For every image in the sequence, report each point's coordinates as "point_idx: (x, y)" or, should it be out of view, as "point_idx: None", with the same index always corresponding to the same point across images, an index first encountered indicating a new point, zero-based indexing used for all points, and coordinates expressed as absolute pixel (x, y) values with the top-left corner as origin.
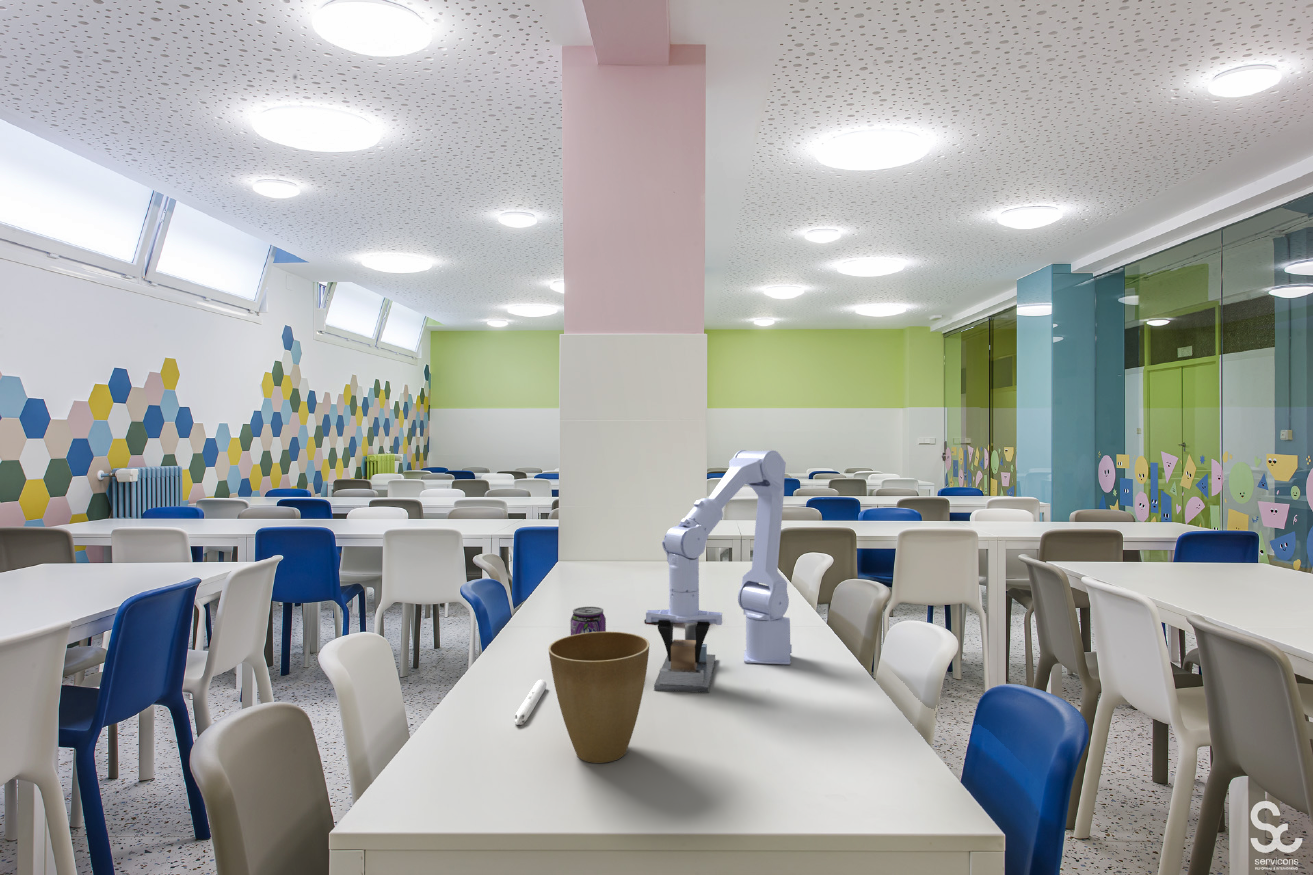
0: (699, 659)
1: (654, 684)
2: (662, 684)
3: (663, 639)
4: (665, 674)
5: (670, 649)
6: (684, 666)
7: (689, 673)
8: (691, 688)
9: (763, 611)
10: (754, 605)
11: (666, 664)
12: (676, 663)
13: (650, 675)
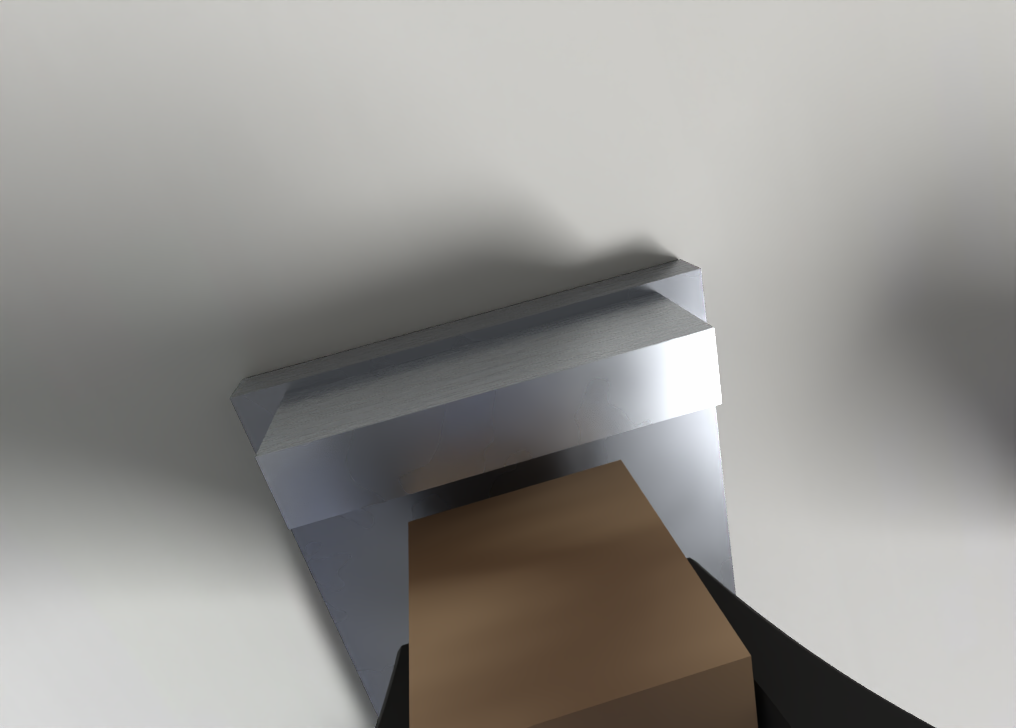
0: None
1: (699, 274)
2: (634, 298)
3: (917, 719)
4: (640, 332)
5: None
6: (510, 531)
7: (401, 411)
8: (381, 352)
9: None
10: None
11: None
12: (597, 526)
13: (779, 518)
